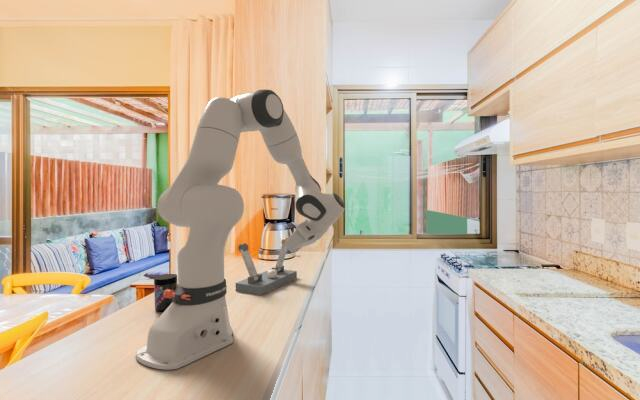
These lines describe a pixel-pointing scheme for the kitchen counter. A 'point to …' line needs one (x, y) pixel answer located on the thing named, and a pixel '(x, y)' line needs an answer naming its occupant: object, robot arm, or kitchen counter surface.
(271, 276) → the ivory button
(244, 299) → the kitchen counter surface
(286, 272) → the console
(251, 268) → the grey lever
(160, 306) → the supplement container
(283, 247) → the control lever
